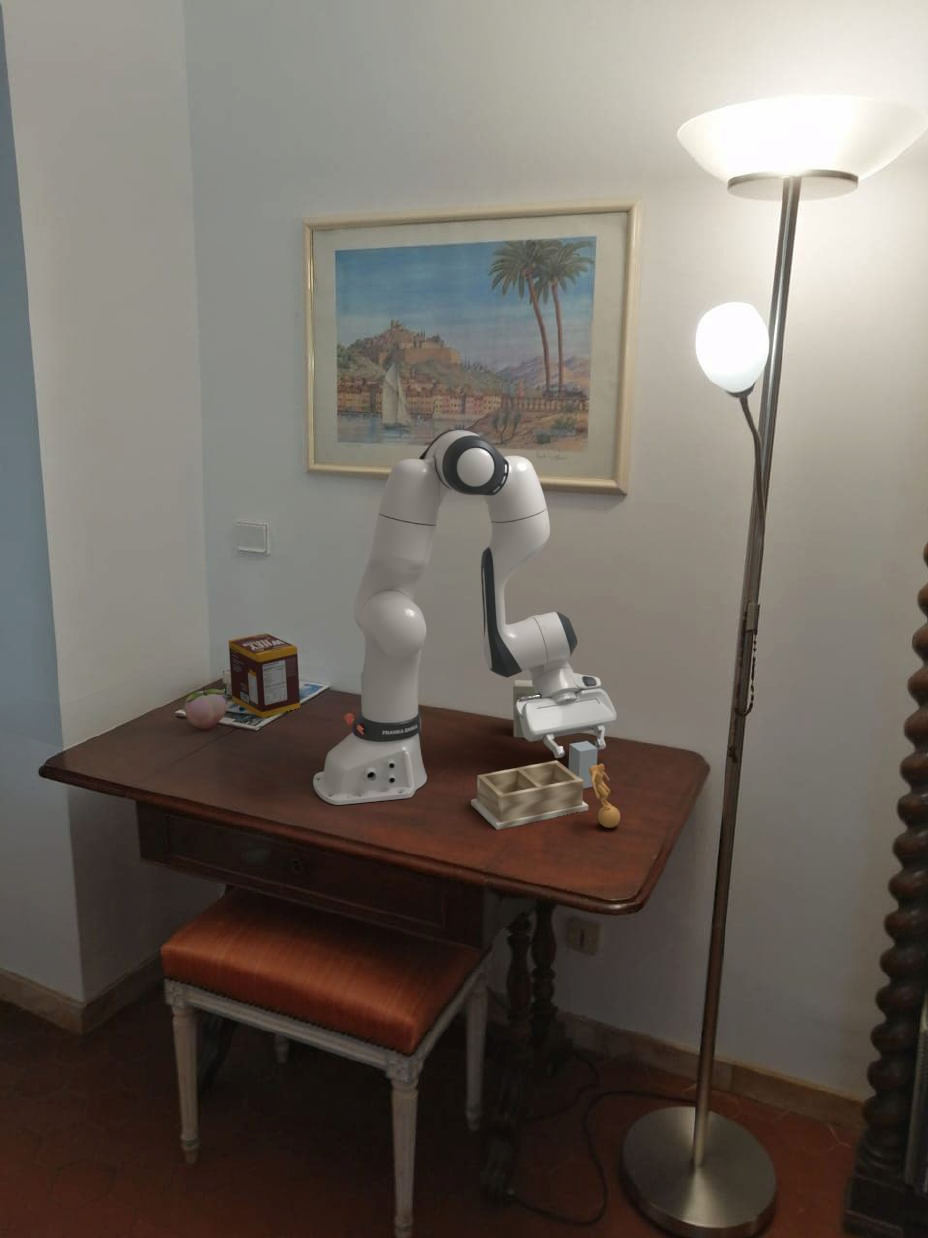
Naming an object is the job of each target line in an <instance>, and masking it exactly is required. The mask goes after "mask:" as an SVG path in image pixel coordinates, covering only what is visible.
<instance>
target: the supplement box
mask: <svg viewBox="0 0 928 1238" xmlns="http://www.w3.org/2000/svg"><path fill="white" fill-rule="evenodd" d="M228 653H229V669H230V671H229V672H230V685H231V699H232V702H233V703H235V704H237V705H239V706H240V707H241V708H243V709H246V710H247V711H249V712H250V713H253V714H254V715H256V716H258V717H259V718H261V719H266V718H269V717H272V716H271V715H273V716H276V715H275V714H277V715H279V714H278V713H281V714H283V713H282V712H284V713H287V712H286V711H288V712H290V710H292V711H296V710H299V709H301V698H300V696H301V695H300V676H299V657H298V647H297V646H296V645H293V644H291V643H289V642H287V641H284V640H283V639H280V638H279V637H275V636H273V635H271V634H269V633H267V632H265V633H259V634H255V635H249V636H244V637H239V638H235V639H233V638H232V639H229V640H228ZM298 708H299V709H298ZM295 709H296V710H295ZM268 716H269V717H268ZM265 717H266V718H265Z"/></svg>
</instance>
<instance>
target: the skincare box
mask: <svg viewBox="0 0 928 1238" xmlns="http://www.w3.org/2000/svg"><path fill="white" fill-rule="evenodd" d="M512 687H513V688H512V690H513V693H512V698H513V699H512V700H513V704H512V705H513V707H512V709H513V737H514V738H525V737H524V734H523V731H522V727H521V722H520V716H519V715H518V713H517V711H516V708H515V703H516V701H517V700H518V699H519V698H520V697H522V696H530V695H534V694H536V693H535V690H534V687H533V685H532V679H531V680H529V679H514V681H513V685H512ZM519 702H520V701H519Z"/></svg>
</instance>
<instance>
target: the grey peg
mask: <svg viewBox="0 0 928 1238" xmlns="http://www.w3.org/2000/svg"><path fill="white" fill-rule="evenodd" d="M598 751H599V750H598V748H597V747H596V746H595V745H594V744H592V742H591V743H590V742H589V741H588V740H585V741H580V742H575V743H574V742H573V743H569V750H568V752H569V753H568V769H569V770H570V771H571V772H573V773H574V774H575V775H577V776H578V777H579V778H581V779H582V780H583V789H587V788H593V786H592V783H591V778H592V777H591V775H590V773H589V768H590V767H591V766H593V765H598ZM594 783H595V781H594ZM595 786H596V787H597V785H596V784H595Z"/></svg>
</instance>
